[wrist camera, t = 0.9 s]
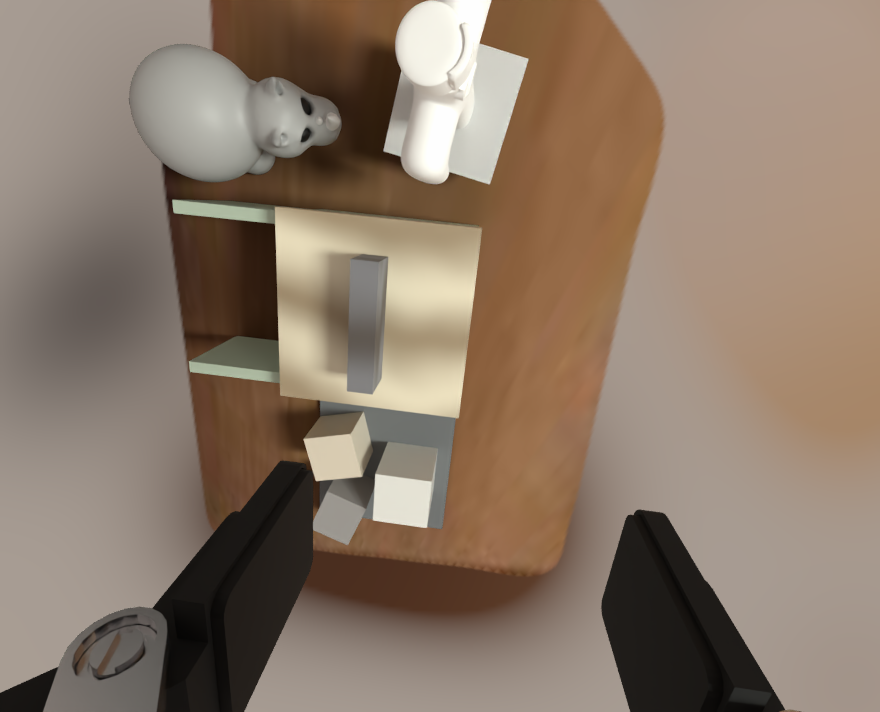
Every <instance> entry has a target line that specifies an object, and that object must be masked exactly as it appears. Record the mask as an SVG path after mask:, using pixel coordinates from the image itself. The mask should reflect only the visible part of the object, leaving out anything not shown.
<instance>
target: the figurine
mask: <svg viewBox="0 0 880 712" xmlns="http://www.w3.org/2000/svg"><path fill="white" fill-rule="evenodd" d="M490 4H491V0H437V1H425V2H422V3H420V4H418V5H416V6H414V7H413V8H412V9H411V10H410V11H409V12H408V13H407V14H406V15H405V17H404V18H403V19H402V21H401V23H400V25H399V28H398V31H397V35H396V41H395V50H396V57H397V61H398V64H399V66H400V68H401V74H400V79H399V83H398V88H397V92H396V97H395V101H394V106H393V110H392V115H391V119H390V123H389V128H388V132H387V137H386V141H385V146H384V150H383V151H384V152H388V153H391V154H394V155H397V156H400V157H401V162H402V166H403V168H404V170H405V171H406V172H407V173H408V174H409V175H410V176H412V177H413V178H415V179H417V180H420V181H422V182H425V183H428V184H440V183H442V182H444V181H445V180H446V179H447V178H448V175H449V172H452V173H455V174H458V175H461V176H464V177H467V178H471V179H474V180H477V181H480V182H483V183H487V184H490V182H491V179H492V175H493V172H494V169H495V166H496V163H497V159H498V156H499V153H500V150H501V146H502V143H503V140H504V137H505V133H506V130H507V127H508V124H509V121H510V117H511V114H512V111H513V108H514V104H515V101H516V98H517V95H518V91H519V88H520V85H521V82H522V79H523V75H524V72H525V69H526V66H527V62H528V59H527V58H524V57H520V56H517V55H514V54H511V53H508V52H505V51H501V50H498V49H495V48H492V47H489V46H486V45H483V44H479V42H480V39H481V35H482V31H483V28H484V24H485V21H486V17H487V14H488V10H489V7H490Z"/></svg>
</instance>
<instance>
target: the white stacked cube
mask: <svg viewBox="0 0 880 712" xmlns="http://www.w3.org/2000/svg"><path fill="white" fill-rule="evenodd" d="M437 451H438V448H432V447H425V446H417V445H410V444H402V443H394V442H388V443H387V446H386V448H385V451H384V453H383V456H382V458H381V461H380V463H379V466H378V469H377V471H376V474H375V489H374V508H373V520H374V521H381V522H388V523H395V524H402V525H409V526H416V527H423V528H427V524H428V518H429V512H430V506H431V501H432V495H433V488H434V479H435V469H436V460H437Z"/></svg>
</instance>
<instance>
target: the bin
mask: <svg viewBox="0 0 880 712" xmlns="http://www.w3.org/2000/svg"><path fill="white" fill-rule="evenodd" d="M172 201H173V211H174V213H179V214H188V215H197V216H207V217H216V218H225V219H235V220H244V221H253V222H263V223H272V224H275V207H285V206H275V205H266V204H256V203H247V202H237V201H225V200H172ZM291 208H294V207H291ZM300 209H304V208H300ZM310 210H319V211H329V212H338V213H348V214H357V215H367V216H376V217H386V218H395V219H405V220H414V221H424V222H433V223H443V224H452V225H462V226H471V227H479V225H469V224H460V223H450V222H441V221H431V220H422V219H412V218H403V217H393V216H384V215H374V214H365V213H355V212H345V211H336V210H326V209H310ZM189 365H190V372H197V373H204V374H212V375H220V376H228V377H236V378H244V379H252V380H260V381H268V382H275V383H280V367H279V341H276V340H267V339H259V338H251V337H243V336H235V337H234V338H232V339H230V340H228V341H226V342H224V343H222V344H220V345H219V346H217V347H215V348H213V349H211V350H209V351H207V352H206V353H204V354H202V355H200V356H198V357H196V358H194V359H193V360H191V361H189Z"/></svg>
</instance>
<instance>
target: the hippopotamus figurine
mask: <svg viewBox="0 0 880 712" xmlns="http://www.w3.org/2000/svg"><path fill="white" fill-rule="evenodd" d="M129 104H130V108H131V114H132V117H133V120H134V123H135V126H136V128H137V130H138V132H139V134H140V136H141V138H142V139H143V141H144V142H145V143H146V145H147V146H148V148H149V149H150V150H151V151H152V153H153V154H154V155H155V156H156V157H157V158H158V159H159V160H161V161H162V162H163V163H164V164H166V165H167V166H168V167H170V168H171V169H173V170H174V171H176V172H178V173H180V174H182V175H184V176H187V177H189V178H192V179H195V180H199V181H205V182H223V181H229V180H232V179H235V178H237V177H240V176H242V175H243V174H245V173H246V172H248V173H251V174H257V175H260V174H264V173H266V172H268V171H269V170H270V169H271V168H272V166H273V164H274V162H275V156H277V157H282V158H292V157H296V156H299V155H300V154H302V153H303V152H304V151H305V150H306V149H308V148H309V147H310V146H313V145H316V146H326V145H329V144H331V143H333V142H334V141H335V140H337V137H338V135H339V133H340V130H341V126H342V122H341V117H340V114H339V112H338V108H337V107H336V106H335V105H334V104H333V103H332V102H331V101H330V100H328V99H326V98H324V97H320V96H316V95H312V94H309V93H307V92H305V91H304V90H302V89H301V88H299V87H298V86H296V85H295V84H293V83H292V82H290V81H288V80H286V79H283V78H278V77H270V78H266V79H263V80H261V81H260V82H256V81H254V80H251V79H248V77H247V76H246V75H245V74H244V73H243V72H242V71H241V70H240V69H239V68H238V67H237V66H236V65H235V64H233V63H232V62H231V61H230V60H228V59H227V58H225V57H224V56H222V55H220V54H218V53H216V52H214V51H212V50H210V49H207V48H203V47H200V46H196V45H188V44H175V45H170V46H166V47H163V48H160V49H158V50H156V51H155V52H152V53H151V54H150V55H148V56H147V57H146V58H145V59H144V60H143V61H142V62H141V63H140V65H139V66H138V68H137V70H136V71H135V74H134V76H133V78H132V82H131V86H130V97H129Z"/></svg>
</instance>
